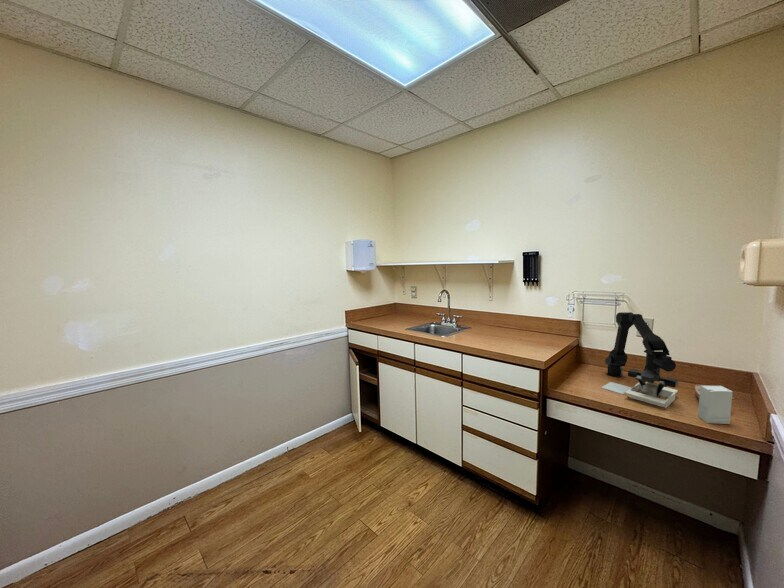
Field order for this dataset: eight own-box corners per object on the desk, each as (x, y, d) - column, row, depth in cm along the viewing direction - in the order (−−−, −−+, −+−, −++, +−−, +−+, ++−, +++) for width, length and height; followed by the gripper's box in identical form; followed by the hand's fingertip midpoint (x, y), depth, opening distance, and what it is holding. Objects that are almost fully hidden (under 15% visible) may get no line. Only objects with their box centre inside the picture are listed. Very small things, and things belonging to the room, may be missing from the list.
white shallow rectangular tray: (624, 399, 157) (624, 392, 156) (640, 387, 170) (640, 380, 169) (663, 410, 144) (664, 403, 144) (677, 396, 157) (678, 390, 157)
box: (641, 397, 156) (642, 385, 156) (648, 392, 162) (648, 381, 161) (654, 401, 152) (655, 389, 152) (660, 395, 158) (661, 384, 157)
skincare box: (718, 417, 137) (721, 385, 135) (730, 425, 131) (734, 391, 129) (696, 416, 139) (699, 384, 137) (707, 423, 133) (710, 390, 131)
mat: (601, 388, 170) (601, 387, 170) (610, 382, 177) (610, 381, 177) (622, 394, 162) (622, 393, 162) (631, 388, 169) (631, 387, 168)
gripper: (624, 362, 157) (622, 392, 159) (672, 373, 142) (670, 406, 144) (632, 357, 164) (630, 386, 166) (679, 367, 149) (677, 399, 151)
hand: (650, 394), depth 156 cm, fingers closed on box, 5 cm apart
